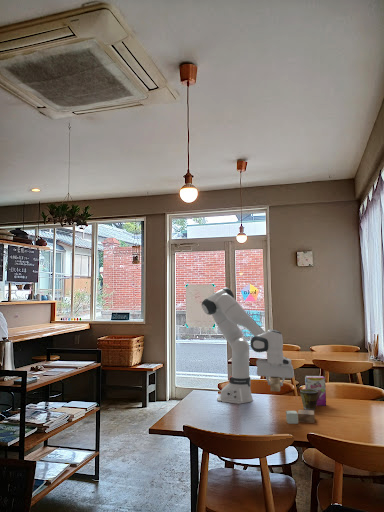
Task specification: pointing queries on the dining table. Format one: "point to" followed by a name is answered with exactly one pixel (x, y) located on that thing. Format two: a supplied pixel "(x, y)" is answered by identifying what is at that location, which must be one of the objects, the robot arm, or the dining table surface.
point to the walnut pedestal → (306, 416)
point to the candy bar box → (317, 388)
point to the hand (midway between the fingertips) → (275, 385)
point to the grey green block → (292, 417)
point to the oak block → (275, 384)
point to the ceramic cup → (309, 398)
